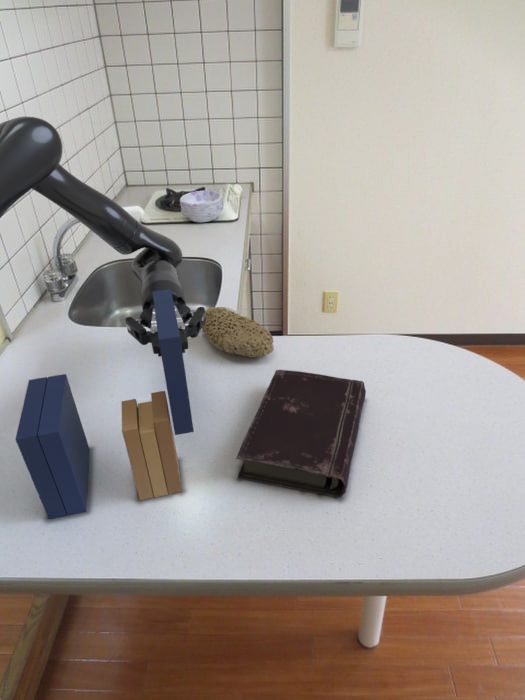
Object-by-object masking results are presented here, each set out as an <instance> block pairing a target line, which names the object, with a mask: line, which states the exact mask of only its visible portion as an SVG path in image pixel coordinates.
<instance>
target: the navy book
mask: <svg viewBox="0 0 525 700" xmlns="http://www.w3.org/2000/svg"><path fill="white" fill-rule="evenodd" d="M153 300H154V308H155V316H156V323H157V331H158V339H159V345H160V351H161V356H160V357H161V362H162V367H163V373H164V380H165V385H166V392H167V397H168V403H169V410H170V416H171V419H172V420H171V421H172V427H173V433H174V436H178V435H183V434H189V433H194V431H195V430H194V425H193V424H194V423H193V417H192V409H191V404H190V395H189V389H188V383H187V382H188V381H187V375H186V369H185V367H186V366H185V361H184V355H183V354H184V353H182V347H181V340H180V334H179V329H178V323H177V318H176V313H175V308H174V303H173V298H172V293H171V289H168V290H160V291H153Z"/></svg>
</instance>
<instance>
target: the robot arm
mask: <svg viewBox="0 0 525 700" xmlns="http://www.w3.org/2000/svg"><path fill="white" fill-rule="evenodd" d="M62 156H63V142H62V137H61V136H60V133H59V131H58V130H57V129H56V128H55V127H54V125H52V124H51V123H50V122H48V121H47V120H45V119H43V118H39V117H35V116H19V117H14V118H11V119H9V120H6V121H3V122H0V219H1V218H2V217H3V216H4V214H5V213H6V212H7V211H8V210H9V209H10V208H11V207H12V206H13V205H14V204H15V203H16V202H18V201H19V200H20V199H21V198H22V197H23V196H25V195H26V194H27V193H28V192H30V191H31V190H33V191H35V192H36V193H38V194H40V195H42V197H45V198H46V199H47V200H49V201H51V202H52V203H54V204H55V205H56V206H58V207H59V208H61V209H62V210H63V211H65V212H67V213H68V214H69V215H71V216H72V217H73V218H74V219H76V220H77V221H79V222H80V223H81V224H83V225H84V226H85V227H86V228H87V229H88V230H90V231H91V232H93V233H94V234H95V235H96V236H98V238H100V239H101V240H102V241H104V243H106V244H107V245H109V246H110V247H111V248H113V249H114V250H115V251H116V252H117V253H119V254H120V255H124V256H128V255H131V254H133V253H135V252H137V251H139V250H140V252H139V253H138V254H137V255H136V256H135V257H134V258H133V259H132V262H131V266H130V267H131V271H132V273H133V274H134V275H135V277H136V278H137V279H138V280H139V281H140V282H141V289H140V297H141V308H142V312H140V314H139V317H137V318H133V317H132V316H127V317H125V318H124V320H125V325H126V329H127V333H128V334H129V335H130V336H131V337H133V339H135V341H137V342H138V343H139V344H140V345H142V346H147V345H148V344H151V348H152V354H153V355H157V356H158V358H160V357H162V356H161V351H160V345H159V339H158V331H157V323H156V316H155V308H154V300H153V291H160V290H168V289H171V293H172V298H173V303H174V308H175V313H176V318H177V323H178V329H179V334H180V340H181V347H182V354H185V353H186V350H188V349H189V348H190V347H189V338H193V339H194V338H197V337H198V336H199V335H200V332H201V330H202V327H203V325H204V323H205V322H206V316H205V311H206V308H205V306H198V307H197V308H196V310H195V309H192V310H191V308H190V307H189V306H188V305H187V302H186V298H185V294H184V290H183V287H182V284H181V282H180V279H179V274H178V271H177V268H178V267H179V266H180V265H181V263H182V262H183V256H184V255H183V251H182V249H181V248H180V246H179V245H178V244H177V242H176V241H174V240H173V239H171V238H169V237H168V236H165V235H164V234H161V233H159V232H157V231H154V230H153V229H150V228H149V227H147V226H145V225H144V224H142V223H141V222H139V221H138V220H137V219H136V218H135V217H134V216H133V215H131V214H130V213H129V212H128V211H127V210H126V209H125V208H123V207H122V206H121V205H120V204H119V203H117V202H115V200H113V199H111V198H110V197H108V196H107V195H105V194H103V193H102V192H100V191H99V190H97V189H96V188H94V187H91V186H90V185H88V184H86V183H85V182H83V181H81V180H80V179H79V178H78V177H76V176H75V175H73V174H72V173H71V172H69V171H68V170H67V169H65V168H64V166H62V164H60V163H61V161H62V158H63V157H62ZM141 249H142V250H141ZM187 322H188V324H187V325H185V324H186V323H187ZM146 328H148V329H149V330H147V329H146Z"/></svg>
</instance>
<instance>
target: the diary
mask: <svg viewBox="0 0 525 700" xmlns="http://www.w3.org/2000/svg"><path fill="white" fill-rule="evenodd" d="M366 394H367V390H366V385H365V381H363V380H357V379H352V378H351V379H350V378H342V377H337V376H331V375H326V374H320V373H313V372H306V371H298V370H286V369H276V370H275V371H274V373H273V376H272V377H271V380H270V382H269V385H268V386H267V389H266V391H265V394H264V396H263V397H262V401H261V402H260V405H259V407H258V409H257V411H256V413H255V415H254V417H253V419H252V421H251V423H250V425H249V428H248V430H247V432H246V434H245V436H244V439H243V440H242V443H241V445H240V447H239V450H238V451H237V454H236V457H235V459H236V460H240V461H243V463H242V465H241V468H240V469H239V472H238V474H237V478H238V479H242V480H243V479H244V480H248V481H253V482H259V483H264V484H269V485H274V486H278V487H283V488H284V487H285V488H290V489H294V490H300V491H304V492H309V493H313V494H314V493H315V494H318V495H325V496H327V495H328V496H330V497H335V498H342V497H343V496H344V495H345V493H347V488H348V483H349V477H350V472H351V465H352V460H353V457H354V451H355V447H356V443H357V438H358V434H359V428H360V424H361V423H360V422H361V416H362V413H363V407H364V403H365V400H366Z"/></svg>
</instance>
